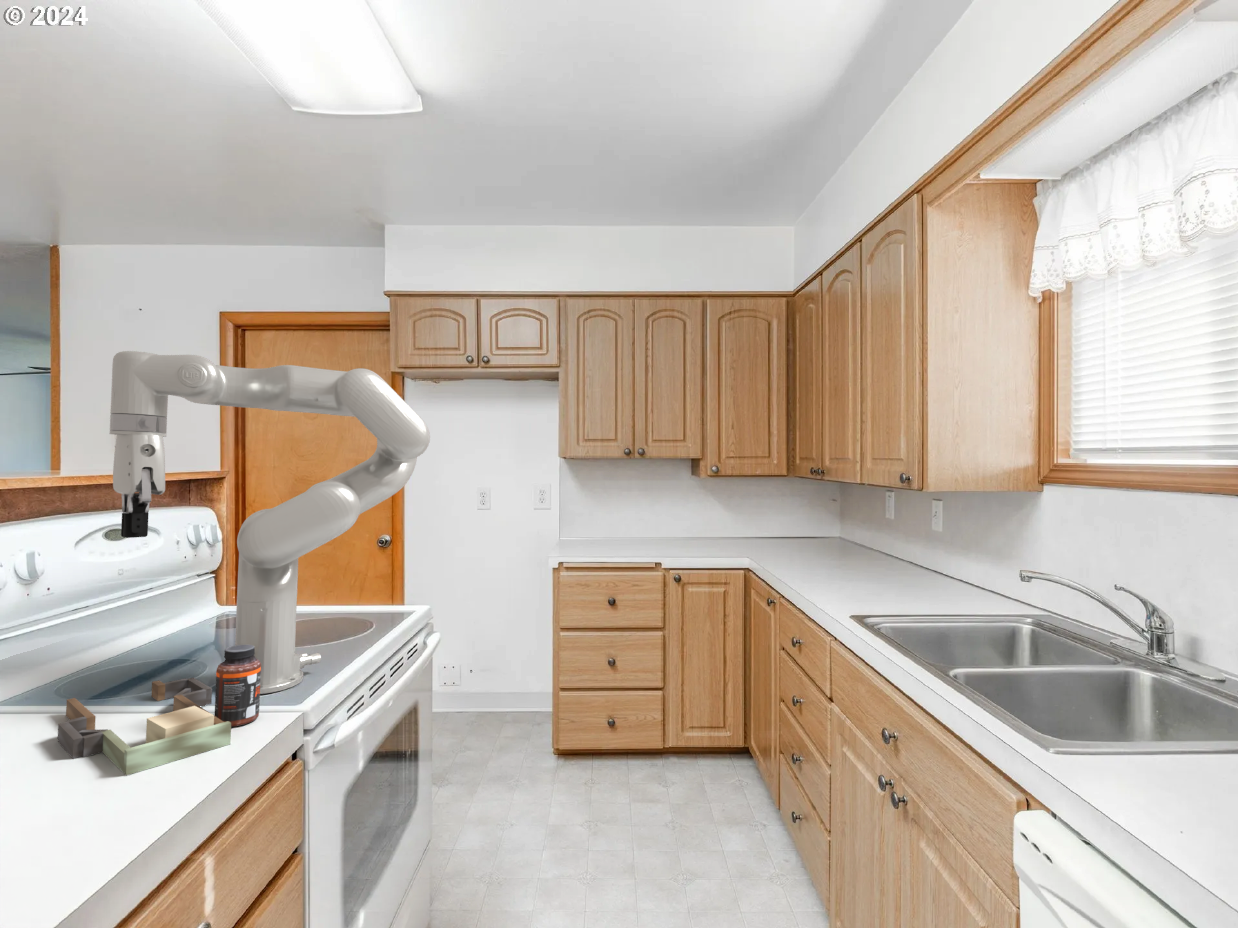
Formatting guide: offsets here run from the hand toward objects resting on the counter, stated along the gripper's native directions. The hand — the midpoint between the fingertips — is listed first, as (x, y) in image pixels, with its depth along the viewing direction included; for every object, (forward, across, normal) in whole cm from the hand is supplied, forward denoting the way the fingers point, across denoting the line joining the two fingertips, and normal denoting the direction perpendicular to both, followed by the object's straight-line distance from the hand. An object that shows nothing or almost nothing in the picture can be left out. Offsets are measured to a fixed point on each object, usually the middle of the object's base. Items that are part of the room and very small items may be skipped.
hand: (134, 536), depth 103 cm
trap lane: (+27, -16, +2) cm, 32 cm away
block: (+27, -25, 0) cm, 37 cm away
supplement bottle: (+27, -22, -8) cm, 36 cm away
